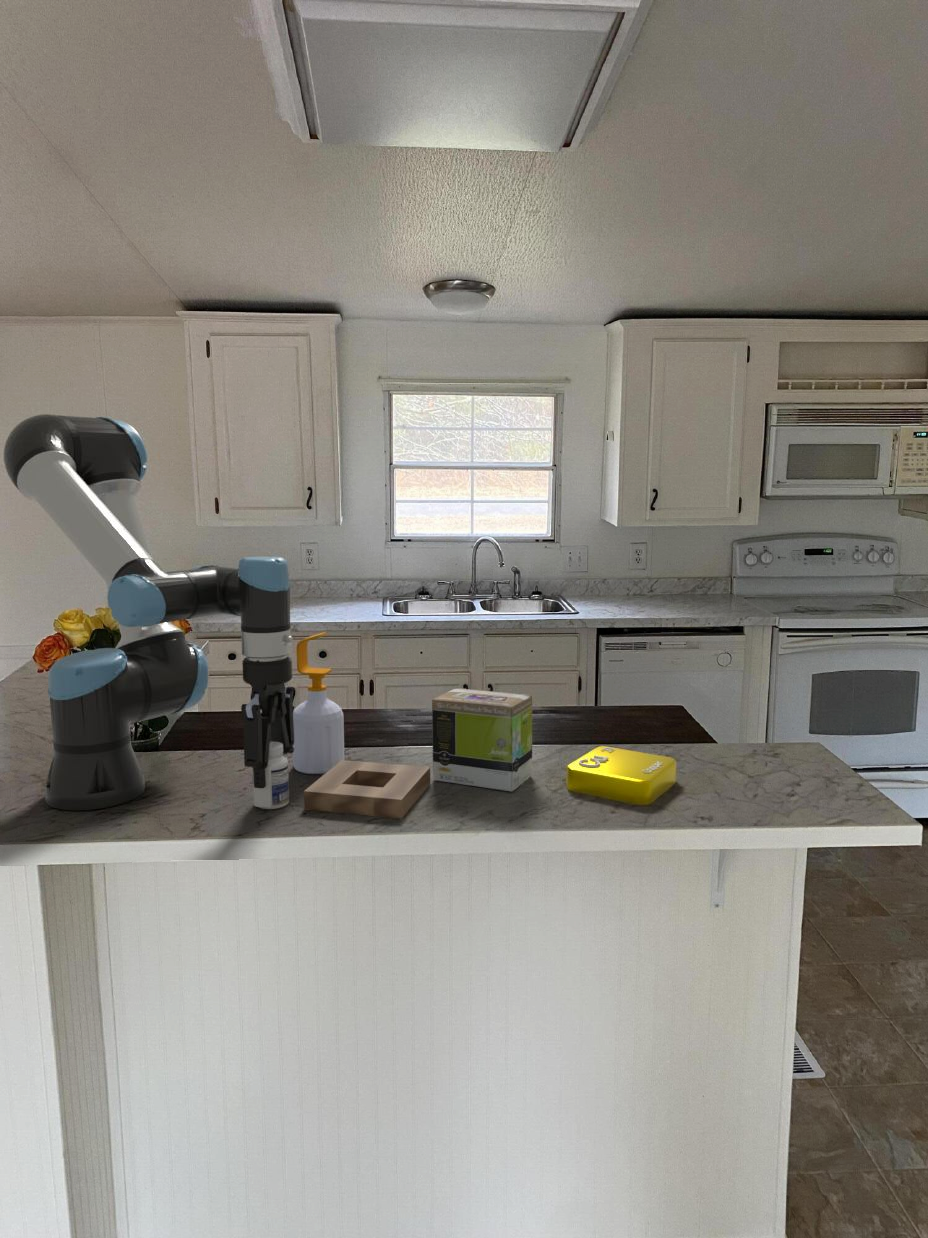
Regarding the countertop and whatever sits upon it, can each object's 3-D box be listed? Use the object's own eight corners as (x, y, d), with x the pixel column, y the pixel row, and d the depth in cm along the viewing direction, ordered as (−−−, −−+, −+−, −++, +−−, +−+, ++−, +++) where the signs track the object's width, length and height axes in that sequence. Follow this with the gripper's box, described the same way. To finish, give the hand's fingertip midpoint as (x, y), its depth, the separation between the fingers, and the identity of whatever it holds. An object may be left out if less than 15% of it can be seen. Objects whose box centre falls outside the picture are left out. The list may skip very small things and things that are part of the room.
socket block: (304, 809, 138) (303, 791, 138) (342, 776, 154) (341, 760, 153) (401, 818, 134) (401, 799, 134) (430, 784, 150) (430, 767, 149)
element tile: (647, 809, 139) (647, 780, 139) (561, 791, 148) (562, 764, 147) (679, 782, 152) (680, 755, 151) (598, 767, 160) (599, 742, 159)
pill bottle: (252, 800, 142) (249, 742, 140) (285, 796, 144) (283, 738, 143) (258, 812, 137) (255, 751, 136) (292, 807, 139) (290, 747, 138)
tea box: (533, 776, 154) (534, 693, 152) (512, 794, 145) (512, 707, 143) (455, 764, 160) (455, 685, 158) (430, 781, 151) (430, 697, 149)
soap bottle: (334, 776, 154) (331, 638, 150) (285, 773, 155) (281, 636, 152) (351, 760, 162) (348, 629, 158) (304, 757, 164) (300, 627, 160)
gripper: (262, 669, 127) (267, 822, 131) (313, 646, 145) (316, 782, 148) (215, 667, 129) (221, 818, 132) (271, 644, 147) (275, 778, 150)
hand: (272, 799), depth 140 cm, fingers closed on pill bottle, 5 cm apart
